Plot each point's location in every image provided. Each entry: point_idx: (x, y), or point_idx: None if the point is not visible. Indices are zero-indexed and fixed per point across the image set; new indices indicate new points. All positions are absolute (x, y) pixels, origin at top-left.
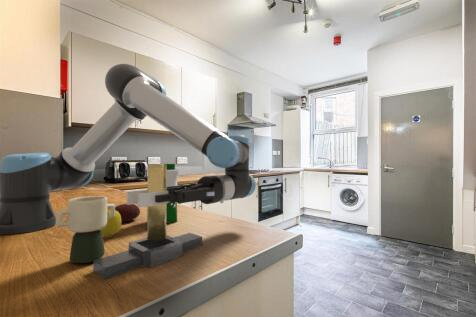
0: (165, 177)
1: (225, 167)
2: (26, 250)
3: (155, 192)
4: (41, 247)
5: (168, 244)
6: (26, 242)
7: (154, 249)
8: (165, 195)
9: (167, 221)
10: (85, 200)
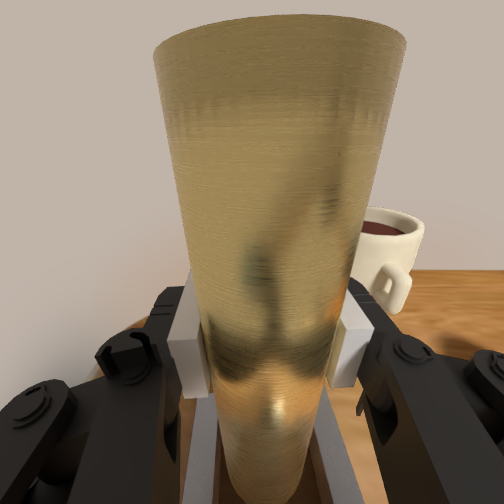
0: (188, 236)
1: None
2: (439, 284)
3: (189, 273)
4: (455, 297)
5: (206, 490)
6: (497, 286)
7: (207, 413)
8: (147, 320)
9: None
10: (407, 228)
